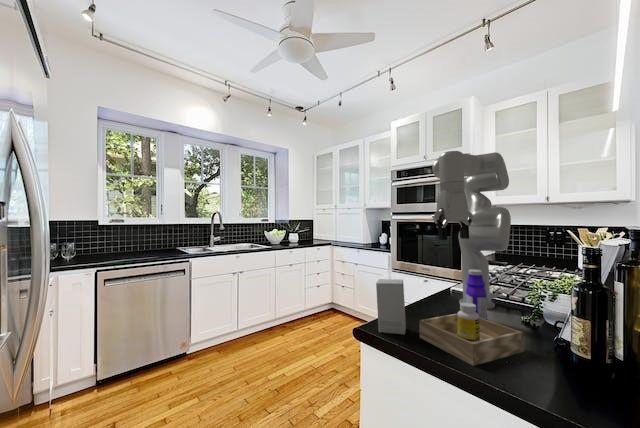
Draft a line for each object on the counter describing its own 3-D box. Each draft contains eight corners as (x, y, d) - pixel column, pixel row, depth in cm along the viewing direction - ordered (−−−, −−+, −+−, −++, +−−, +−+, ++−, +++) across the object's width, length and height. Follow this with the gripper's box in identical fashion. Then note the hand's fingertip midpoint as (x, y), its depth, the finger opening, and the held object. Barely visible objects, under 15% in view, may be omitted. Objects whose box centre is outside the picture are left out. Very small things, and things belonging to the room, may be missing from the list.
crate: (464, 328, 89) (464, 312, 89) (523, 351, 72) (522, 332, 72) (419, 337, 82) (419, 320, 82) (473, 365, 66) (472, 344, 66)
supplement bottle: (479, 345, 74) (478, 308, 74) (457, 341, 77) (455, 305, 77) (480, 338, 78) (479, 303, 79) (459, 334, 81) (457, 300, 82)
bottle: (490, 326, 90) (488, 272, 90) (471, 325, 91) (469, 272, 91) (482, 319, 97) (480, 268, 97) (464, 318, 98) (462, 268, 98)
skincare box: (406, 327, 90) (404, 279, 90) (405, 335, 84) (403, 283, 84) (379, 325, 93) (378, 278, 93) (377, 332, 86) (375, 282, 87)
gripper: (461, 190, 101) (463, 237, 101) (424, 189, 95) (425, 239, 94) (480, 187, 94) (482, 238, 94) (441, 186, 88) (443, 241, 87)
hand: (454, 239), depth 94 cm, fingers open, 9 cm apart
